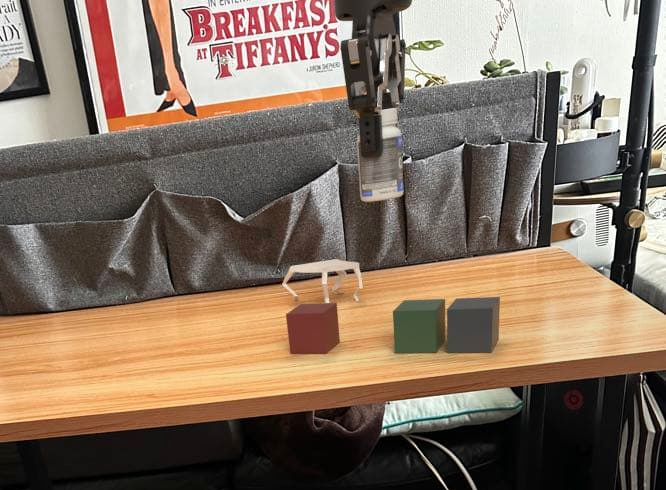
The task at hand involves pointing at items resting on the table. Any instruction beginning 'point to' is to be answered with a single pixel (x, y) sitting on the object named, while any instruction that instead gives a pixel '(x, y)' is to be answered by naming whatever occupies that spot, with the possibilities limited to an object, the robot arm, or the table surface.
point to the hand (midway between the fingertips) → (380, 153)
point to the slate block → (473, 325)
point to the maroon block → (313, 328)
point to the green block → (419, 326)
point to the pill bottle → (383, 164)
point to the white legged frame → (324, 268)
